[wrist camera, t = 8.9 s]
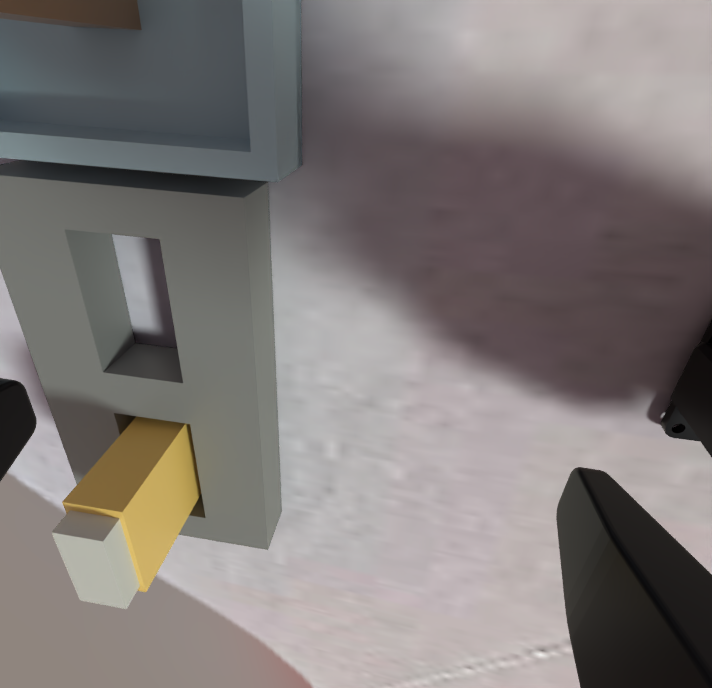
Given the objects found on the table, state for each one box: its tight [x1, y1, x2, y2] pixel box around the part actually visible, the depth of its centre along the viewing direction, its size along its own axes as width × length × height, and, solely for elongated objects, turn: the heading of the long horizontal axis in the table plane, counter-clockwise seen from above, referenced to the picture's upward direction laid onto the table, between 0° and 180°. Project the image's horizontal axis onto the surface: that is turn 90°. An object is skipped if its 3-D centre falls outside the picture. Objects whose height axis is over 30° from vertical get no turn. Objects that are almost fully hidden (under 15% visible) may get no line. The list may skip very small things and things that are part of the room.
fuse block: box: [0, 160, 282, 550], centre depth 22 cm, size 10×18×2 cm, turn 177°
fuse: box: [52, 416, 201, 609], centre depth 21 cm, size 2×5×8 cm, turn 177°
